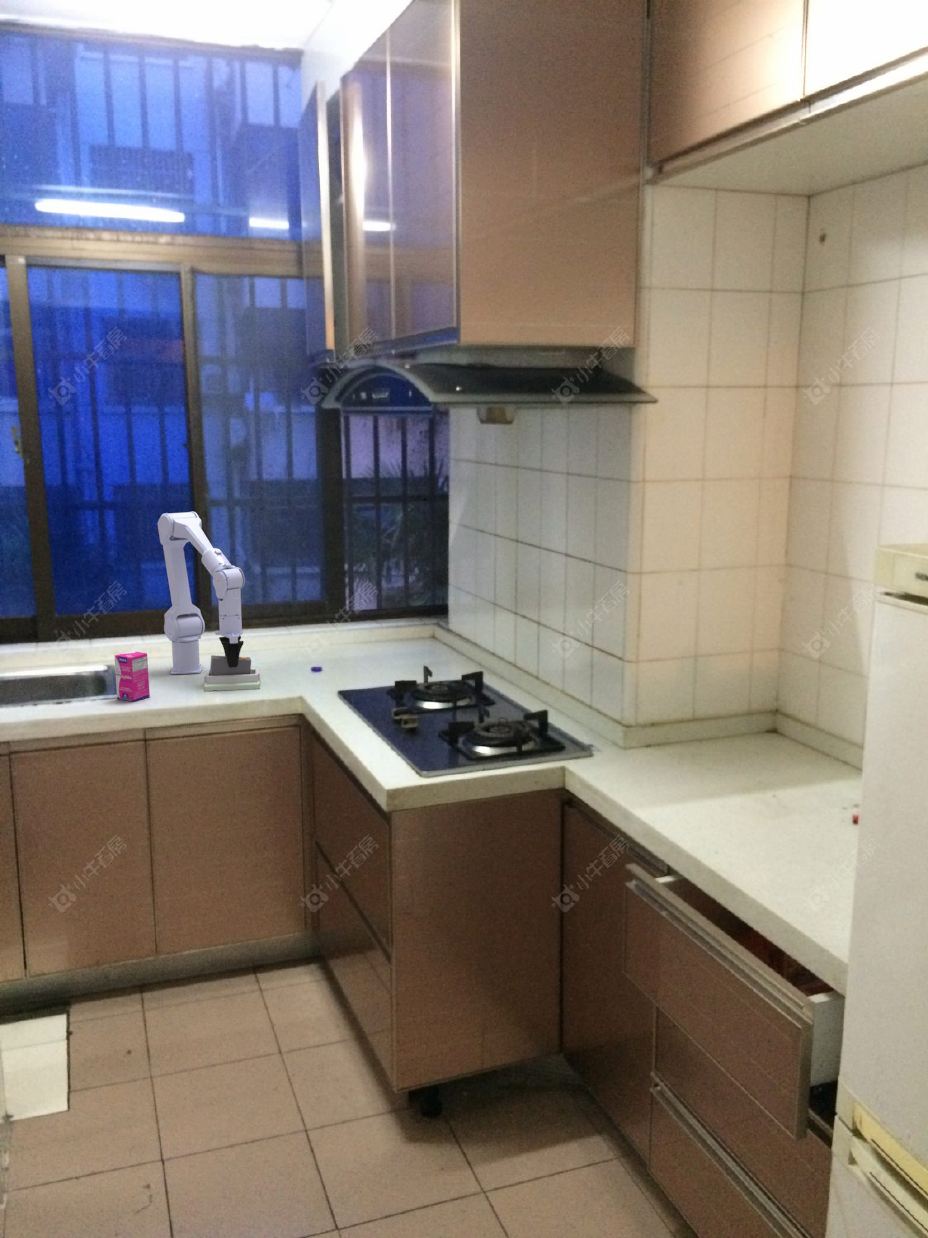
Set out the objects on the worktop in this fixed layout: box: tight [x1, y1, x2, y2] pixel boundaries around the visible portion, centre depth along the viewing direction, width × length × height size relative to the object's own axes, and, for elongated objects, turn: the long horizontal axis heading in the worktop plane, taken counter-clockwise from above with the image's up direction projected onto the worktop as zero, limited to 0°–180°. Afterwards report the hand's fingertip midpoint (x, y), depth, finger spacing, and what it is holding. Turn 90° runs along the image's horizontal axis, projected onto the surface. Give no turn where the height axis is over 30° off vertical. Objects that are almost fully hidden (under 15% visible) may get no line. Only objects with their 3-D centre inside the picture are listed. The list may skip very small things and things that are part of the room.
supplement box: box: [113, 650, 151, 703], centre depth 256 cm, size 6×6×12 cm
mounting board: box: [203, 667, 261, 692], centre depth 272 cm, size 14×14×3 cm
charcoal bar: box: [209, 655, 252, 676], centre depth 271 cm, size 4×10×5 cm, turn 108°
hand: (232, 665), depth 272 cm, fingers open, 4 cm apart
